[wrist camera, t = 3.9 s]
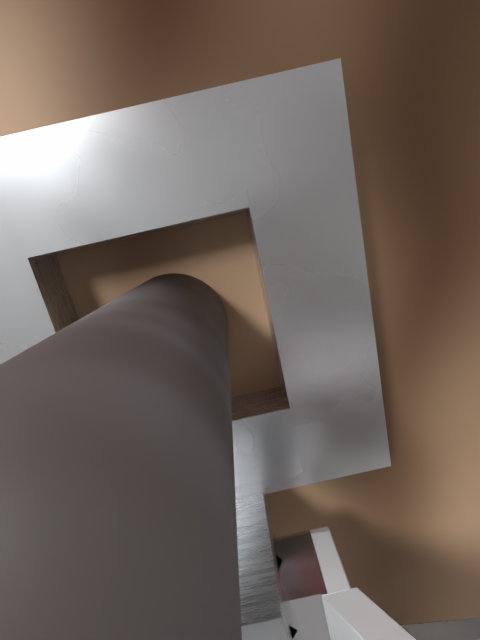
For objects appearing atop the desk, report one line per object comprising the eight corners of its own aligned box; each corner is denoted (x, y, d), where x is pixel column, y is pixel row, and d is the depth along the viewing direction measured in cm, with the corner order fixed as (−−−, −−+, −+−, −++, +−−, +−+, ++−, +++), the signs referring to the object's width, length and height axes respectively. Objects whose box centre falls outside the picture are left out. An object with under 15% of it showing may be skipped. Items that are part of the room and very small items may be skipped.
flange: (-76, 178, 7) (-407, 112, 3) (321, 86, 7) (433, -84, 3) (127, 651, 11) (75, 875, 7) (392, 593, 11) (484, 787, 7)
